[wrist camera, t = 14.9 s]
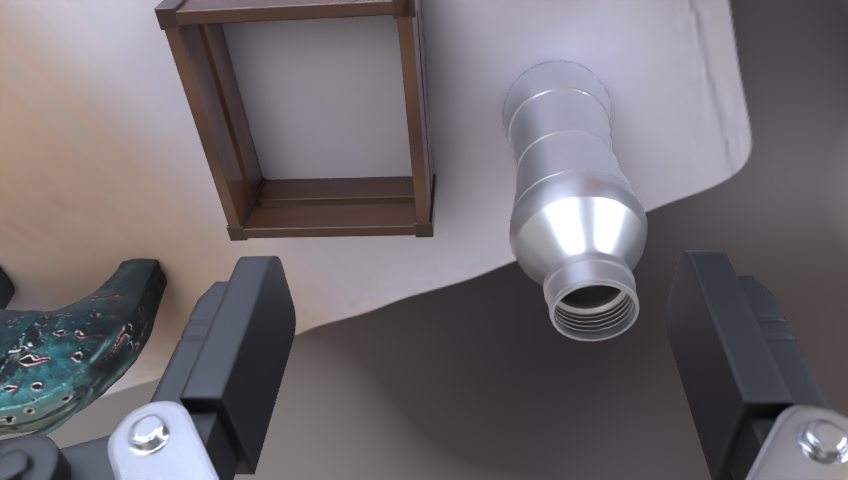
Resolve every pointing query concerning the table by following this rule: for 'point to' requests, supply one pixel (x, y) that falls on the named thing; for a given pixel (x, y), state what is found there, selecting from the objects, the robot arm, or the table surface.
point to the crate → (233, 147)
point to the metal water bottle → (573, 201)
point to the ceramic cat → (73, 348)
